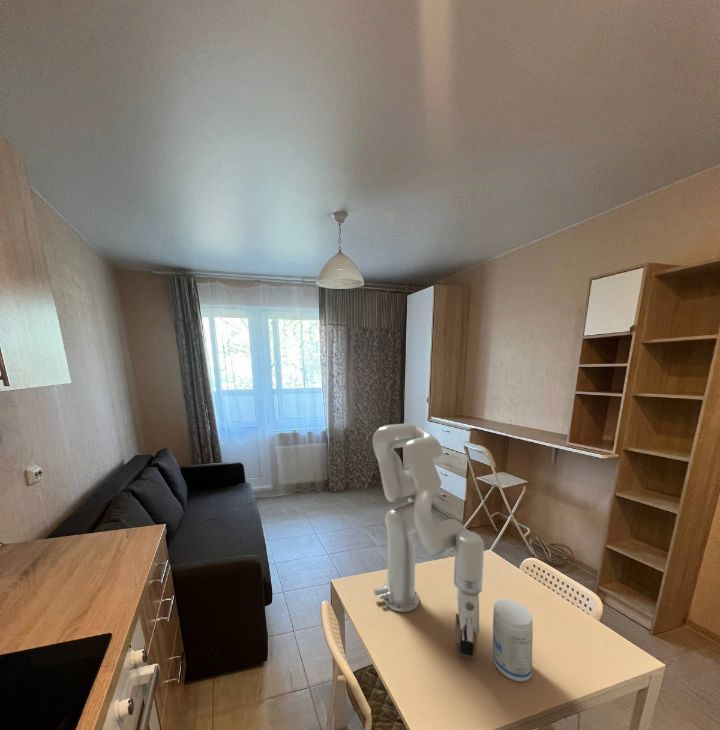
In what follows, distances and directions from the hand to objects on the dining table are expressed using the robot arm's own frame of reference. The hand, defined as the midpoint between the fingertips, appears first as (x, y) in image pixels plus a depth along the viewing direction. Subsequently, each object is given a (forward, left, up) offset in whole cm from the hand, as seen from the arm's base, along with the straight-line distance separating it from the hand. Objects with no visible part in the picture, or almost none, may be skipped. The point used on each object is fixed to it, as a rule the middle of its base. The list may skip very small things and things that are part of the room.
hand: (465, 643), depth 86 cm
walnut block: (0, 0, -1) cm, 1 cm away
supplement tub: (+10, -6, -3) cm, 12 cm away
